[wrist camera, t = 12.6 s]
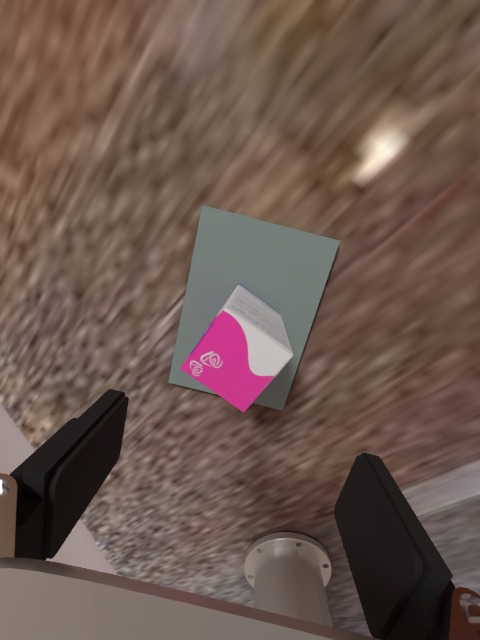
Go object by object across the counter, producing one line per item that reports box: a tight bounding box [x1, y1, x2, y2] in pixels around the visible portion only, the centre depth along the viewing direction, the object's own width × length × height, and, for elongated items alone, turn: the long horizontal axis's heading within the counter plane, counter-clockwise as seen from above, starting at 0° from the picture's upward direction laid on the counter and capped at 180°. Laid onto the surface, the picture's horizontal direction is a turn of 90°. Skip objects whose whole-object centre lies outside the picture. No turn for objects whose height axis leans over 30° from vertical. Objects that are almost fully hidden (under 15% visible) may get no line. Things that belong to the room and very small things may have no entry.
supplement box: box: [181, 284, 293, 412], centre depth 23 cm, size 6×6×12 cm
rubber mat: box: [168, 205, 340, 411], centre depth 29 cm, size 20×14×1 cm
